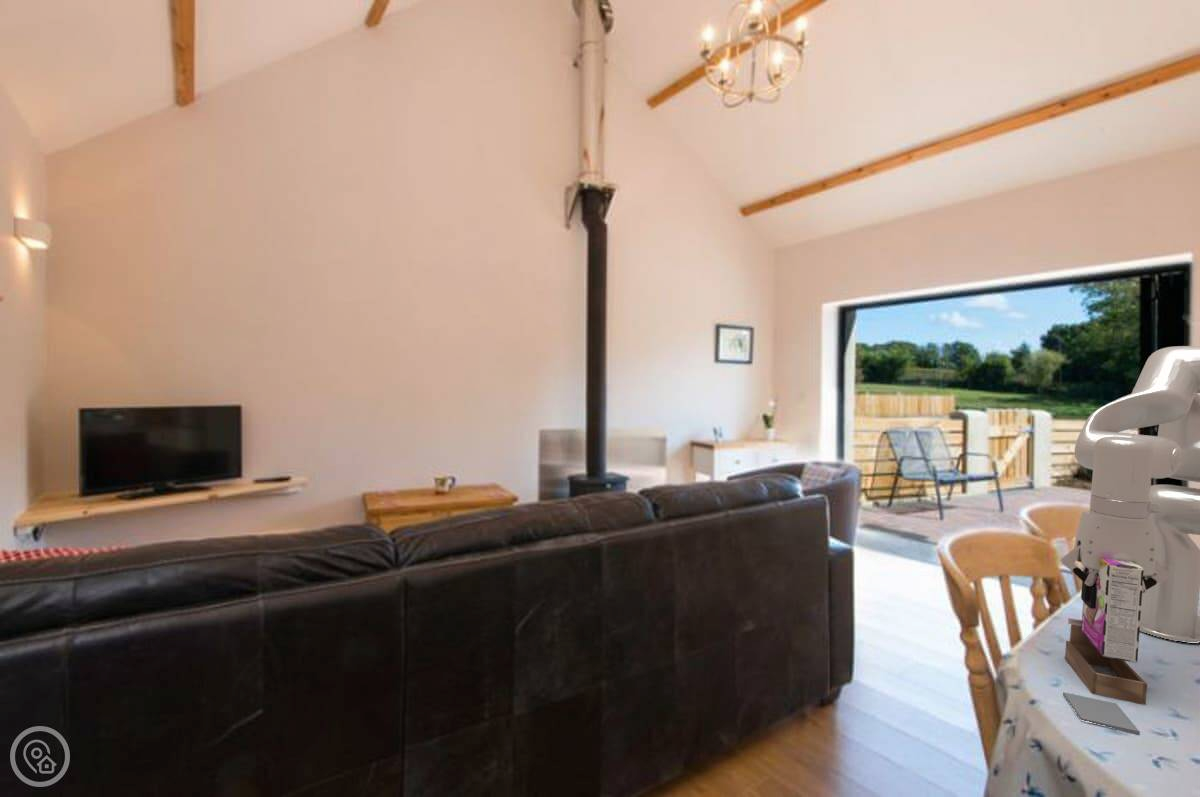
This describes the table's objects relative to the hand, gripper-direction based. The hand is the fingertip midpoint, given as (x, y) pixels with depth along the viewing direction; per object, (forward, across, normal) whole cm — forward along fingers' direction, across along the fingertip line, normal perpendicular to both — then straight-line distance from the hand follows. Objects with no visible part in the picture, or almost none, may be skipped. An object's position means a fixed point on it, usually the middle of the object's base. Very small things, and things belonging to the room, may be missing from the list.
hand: (1109, 607), depth 100 cm
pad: (+13, +5, +14) cm, 20 cm away
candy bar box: (+7, 0, 0) cm, 7 cm away
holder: (+13, 0, +1) cm, 13 cm away
